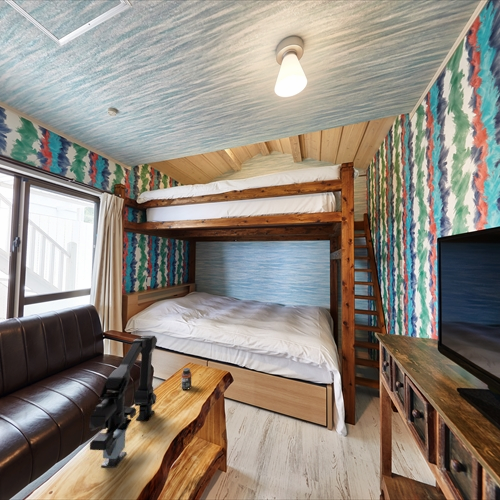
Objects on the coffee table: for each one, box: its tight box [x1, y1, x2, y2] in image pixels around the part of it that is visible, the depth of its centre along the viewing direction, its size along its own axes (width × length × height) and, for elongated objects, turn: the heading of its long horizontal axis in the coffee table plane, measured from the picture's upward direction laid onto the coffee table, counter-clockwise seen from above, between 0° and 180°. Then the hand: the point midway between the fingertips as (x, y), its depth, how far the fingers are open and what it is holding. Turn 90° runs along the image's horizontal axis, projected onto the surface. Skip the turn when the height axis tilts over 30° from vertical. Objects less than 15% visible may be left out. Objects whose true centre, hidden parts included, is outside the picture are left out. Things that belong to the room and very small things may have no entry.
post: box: [100, 451, 127, 469], centre depth 83 cm, size 6×6×8 cm
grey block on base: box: [102, 430, 126, 459], centre depth 83 cm, size 5×5×7 cm
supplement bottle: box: [181, 367, 192, 390], centre depth 131 cm, size 6×6×11 cm
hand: (114, 448), depth 83 cm, fingers closed on grey block on base, 5 cm apart
